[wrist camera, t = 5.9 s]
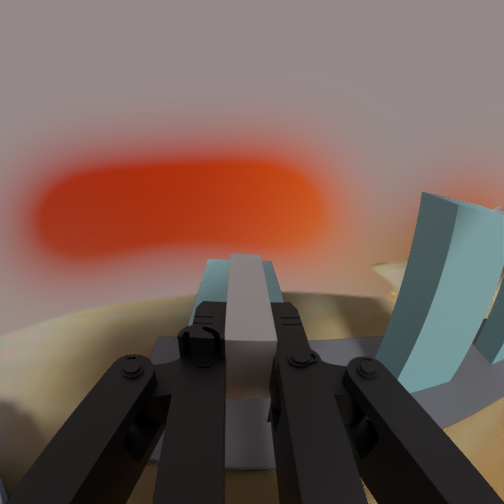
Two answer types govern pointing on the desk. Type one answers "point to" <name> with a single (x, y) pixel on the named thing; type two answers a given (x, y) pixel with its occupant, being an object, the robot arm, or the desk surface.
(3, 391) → the desk surface
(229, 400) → the mat
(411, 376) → the tile
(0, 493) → the cell model
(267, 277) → the tile
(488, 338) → the tile
